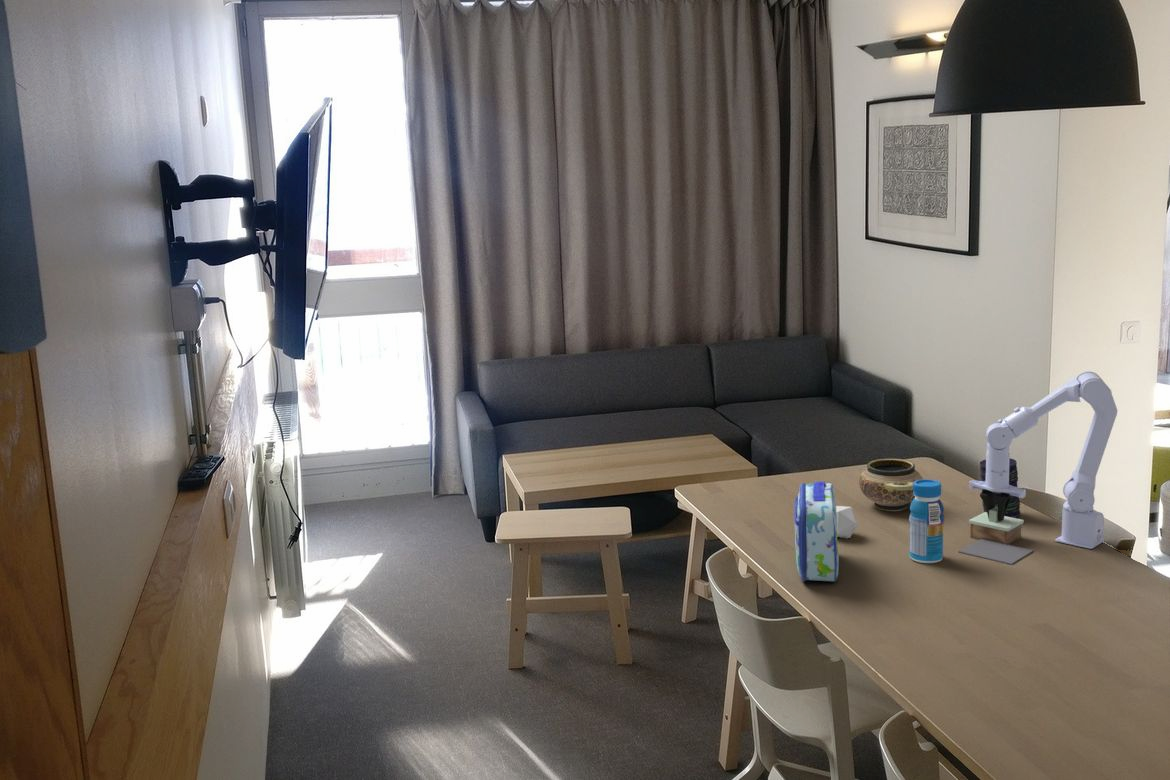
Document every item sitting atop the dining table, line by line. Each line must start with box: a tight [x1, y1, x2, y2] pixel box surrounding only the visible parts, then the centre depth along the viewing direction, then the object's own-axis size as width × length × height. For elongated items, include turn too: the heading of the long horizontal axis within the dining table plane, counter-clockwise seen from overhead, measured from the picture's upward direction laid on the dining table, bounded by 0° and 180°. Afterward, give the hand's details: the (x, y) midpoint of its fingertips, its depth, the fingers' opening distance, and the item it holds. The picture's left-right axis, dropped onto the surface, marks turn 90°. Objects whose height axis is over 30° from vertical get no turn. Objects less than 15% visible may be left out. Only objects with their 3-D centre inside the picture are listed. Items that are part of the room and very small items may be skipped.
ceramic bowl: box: [858, 458, 924, 512], centre depth 313 cm, size 24×18×15 cm
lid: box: [968, 507, 1024, 531], centre depth 284 cm, size 11×9×4 cm
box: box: [970, 524, 1022, 545], centre depth 285 cm, size 10×8×4 cm
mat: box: [958, 539, 1034, 566], centre depth 275 cm, size 14×12×1 cm
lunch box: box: [794, 480, 840, 582], centre depth 268 cm, size 26×11×21 cm, turn 168°
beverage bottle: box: [908, 478, 945, 564], centre depth 271 cm, size 8×8×20 cm
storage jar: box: [979, 458, 1021, 518], centre depth 301 cm, size 10×10×15 cm
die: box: [836, 505, 859, 539], centre depth 292 cm, size 8×9×10 cm
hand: (996, 519), depth 284 cm, fingers closed on lid, 2 cm apart
